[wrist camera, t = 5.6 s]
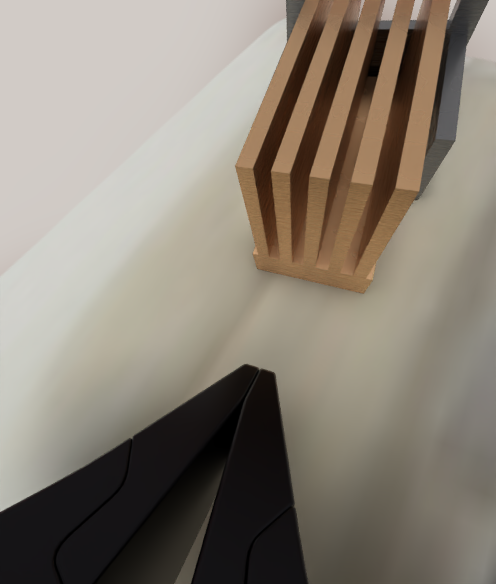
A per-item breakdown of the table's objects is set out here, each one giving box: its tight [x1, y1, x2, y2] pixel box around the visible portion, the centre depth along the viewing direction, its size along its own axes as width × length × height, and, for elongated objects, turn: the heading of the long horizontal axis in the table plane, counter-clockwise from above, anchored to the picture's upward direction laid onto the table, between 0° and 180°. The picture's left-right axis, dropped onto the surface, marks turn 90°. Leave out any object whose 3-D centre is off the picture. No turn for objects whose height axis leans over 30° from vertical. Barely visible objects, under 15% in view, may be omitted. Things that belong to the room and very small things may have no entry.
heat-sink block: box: [235, 0, 451, 294], centre depth 14 cm, size 14×6×8 cm, turn 162°
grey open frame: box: [259, 0, 489, 199], centre depth 14 cm, size 9×10×10 cm
